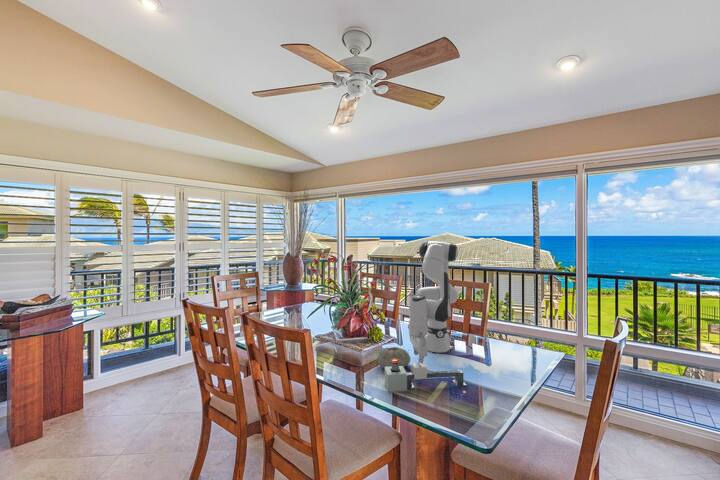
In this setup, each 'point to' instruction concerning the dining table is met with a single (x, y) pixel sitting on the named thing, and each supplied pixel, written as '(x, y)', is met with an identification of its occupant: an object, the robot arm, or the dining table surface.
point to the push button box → (395, 379)
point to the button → (395, 364)
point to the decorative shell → (393, 356)
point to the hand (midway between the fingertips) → (418, 358)
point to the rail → (457, 374)
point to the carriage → (419, 370)
